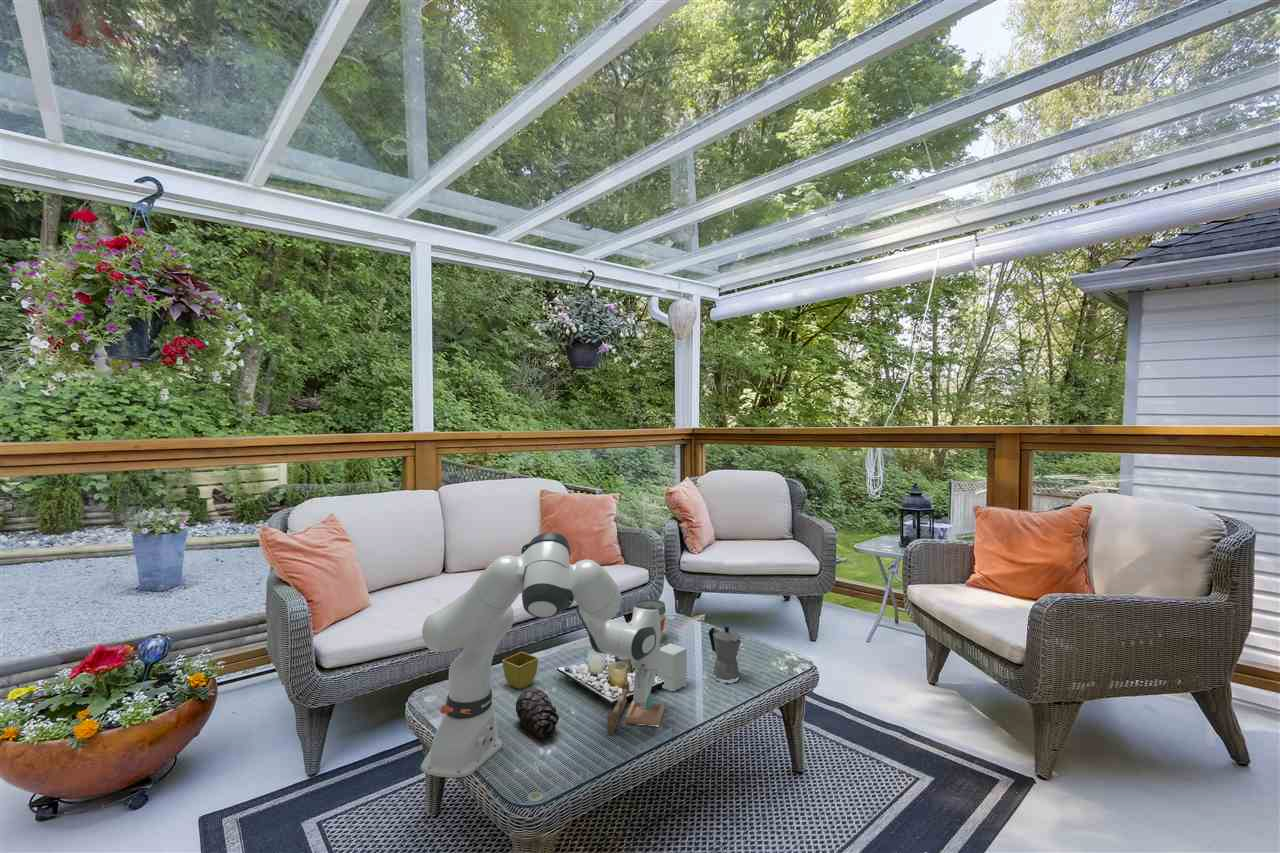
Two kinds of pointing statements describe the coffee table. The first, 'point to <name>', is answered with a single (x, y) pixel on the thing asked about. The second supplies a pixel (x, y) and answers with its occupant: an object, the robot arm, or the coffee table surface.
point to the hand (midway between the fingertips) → (645, 703)
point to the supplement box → (672, 667)
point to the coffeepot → (725, 653)
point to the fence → (617, 710)
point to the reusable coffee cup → (659, 606)
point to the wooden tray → (645, 714)
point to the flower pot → (520, 669)
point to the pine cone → (537, 715)
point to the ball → (649, 701)
